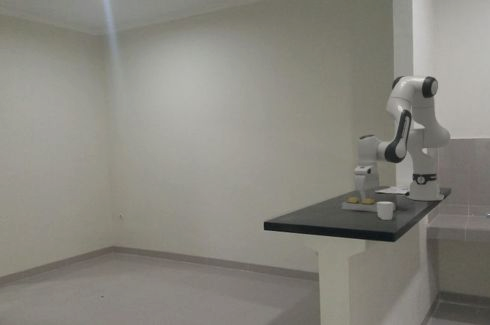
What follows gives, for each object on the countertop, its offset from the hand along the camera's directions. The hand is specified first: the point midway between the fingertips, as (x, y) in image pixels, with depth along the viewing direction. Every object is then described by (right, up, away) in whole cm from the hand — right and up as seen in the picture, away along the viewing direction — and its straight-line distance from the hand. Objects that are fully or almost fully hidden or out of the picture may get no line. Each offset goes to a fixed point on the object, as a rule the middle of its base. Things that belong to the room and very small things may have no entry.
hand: (368, 198), depth 192 cm
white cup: (+2, -7, -19) cm, 20 cm away
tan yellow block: (0, -5, 0) cm, 5 cm away
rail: (0, -6, 0) cm, 6 cm away
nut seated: (-5, -5, +5) cm, 9 cm away
